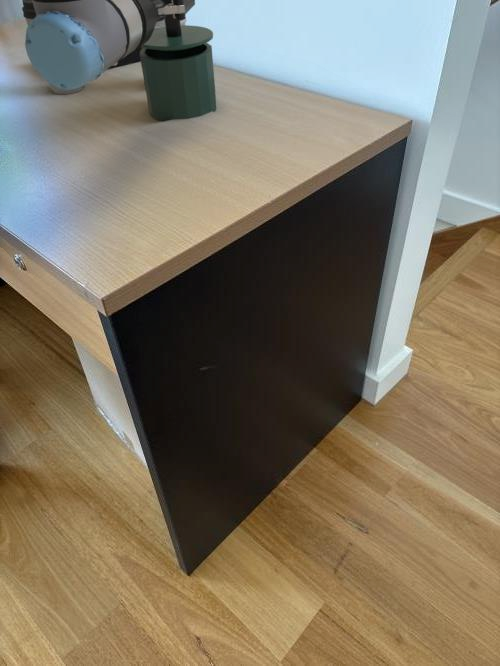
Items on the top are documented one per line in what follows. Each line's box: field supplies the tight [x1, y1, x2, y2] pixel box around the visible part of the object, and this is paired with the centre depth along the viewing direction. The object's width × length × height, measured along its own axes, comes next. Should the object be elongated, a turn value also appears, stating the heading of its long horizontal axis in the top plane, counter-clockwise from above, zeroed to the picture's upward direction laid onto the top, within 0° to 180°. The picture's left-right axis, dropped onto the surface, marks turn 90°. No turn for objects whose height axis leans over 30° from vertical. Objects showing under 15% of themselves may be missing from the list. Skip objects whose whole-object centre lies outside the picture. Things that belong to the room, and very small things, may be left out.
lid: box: [140, 14, 214, 51], centre depth 78 cm, size 12×12×10 cm
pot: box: [140, 42, 217, 122], centre depth 86 cm, size 12×12×10 cm
